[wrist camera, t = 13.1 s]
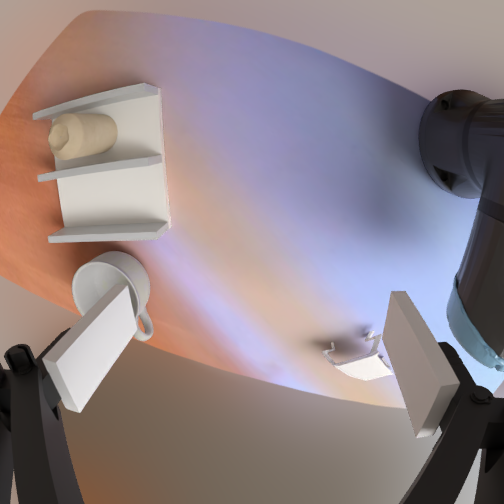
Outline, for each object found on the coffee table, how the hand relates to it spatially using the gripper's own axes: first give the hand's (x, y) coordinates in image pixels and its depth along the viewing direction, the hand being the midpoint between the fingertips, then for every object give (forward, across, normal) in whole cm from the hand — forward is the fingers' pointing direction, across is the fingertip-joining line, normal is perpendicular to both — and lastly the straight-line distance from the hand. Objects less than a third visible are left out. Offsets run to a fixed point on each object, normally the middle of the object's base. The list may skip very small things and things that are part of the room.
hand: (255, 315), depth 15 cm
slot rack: (+27, +23, -6) cm, 36 cm away
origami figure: (+28, -13, +23) cm, 39 cm away
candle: (+26, +23, -10) cm, 36 cm away
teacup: (+27, +22, +12) cm, 37 cm away
